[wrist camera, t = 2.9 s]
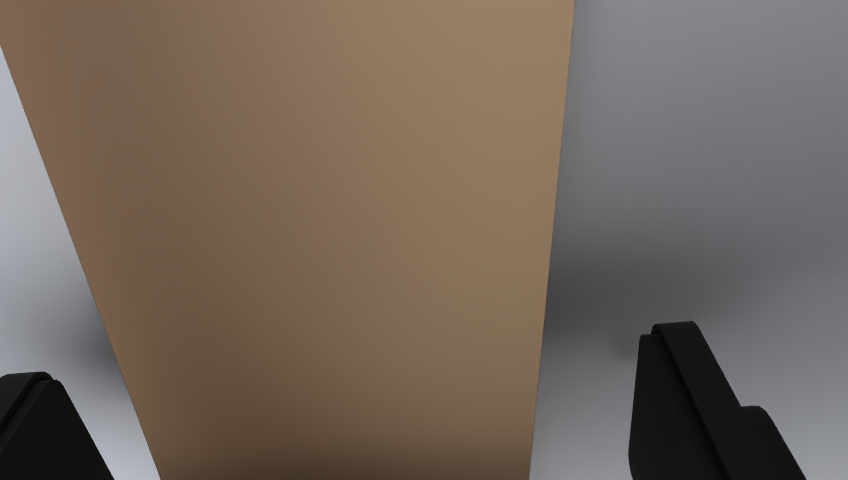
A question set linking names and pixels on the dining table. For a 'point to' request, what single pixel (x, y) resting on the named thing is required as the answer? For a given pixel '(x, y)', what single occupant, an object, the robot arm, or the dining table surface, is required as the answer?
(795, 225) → the dining table surface
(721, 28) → the dining table surface
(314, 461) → the walnut batten
